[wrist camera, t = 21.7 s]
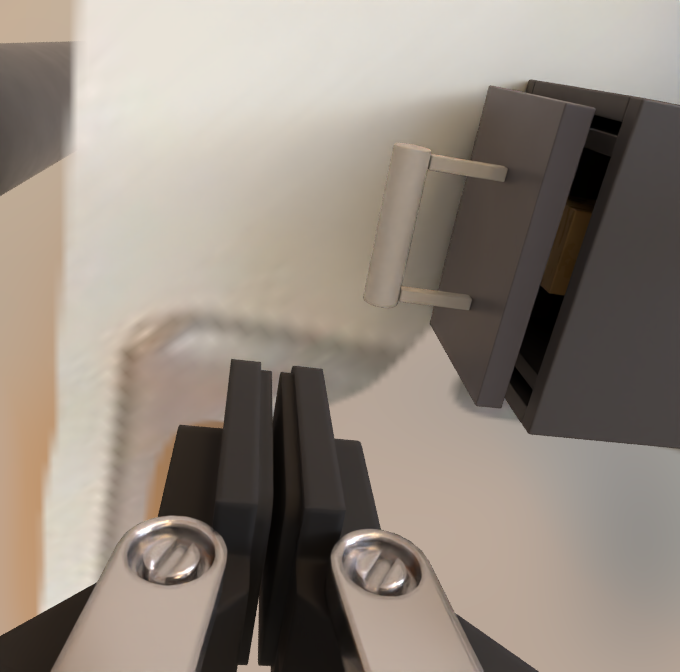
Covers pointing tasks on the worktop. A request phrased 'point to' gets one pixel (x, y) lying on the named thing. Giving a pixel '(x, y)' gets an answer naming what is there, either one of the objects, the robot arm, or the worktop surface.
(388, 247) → the grey drawer with handle
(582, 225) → the block
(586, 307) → the grey open box
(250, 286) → the worktop surface
